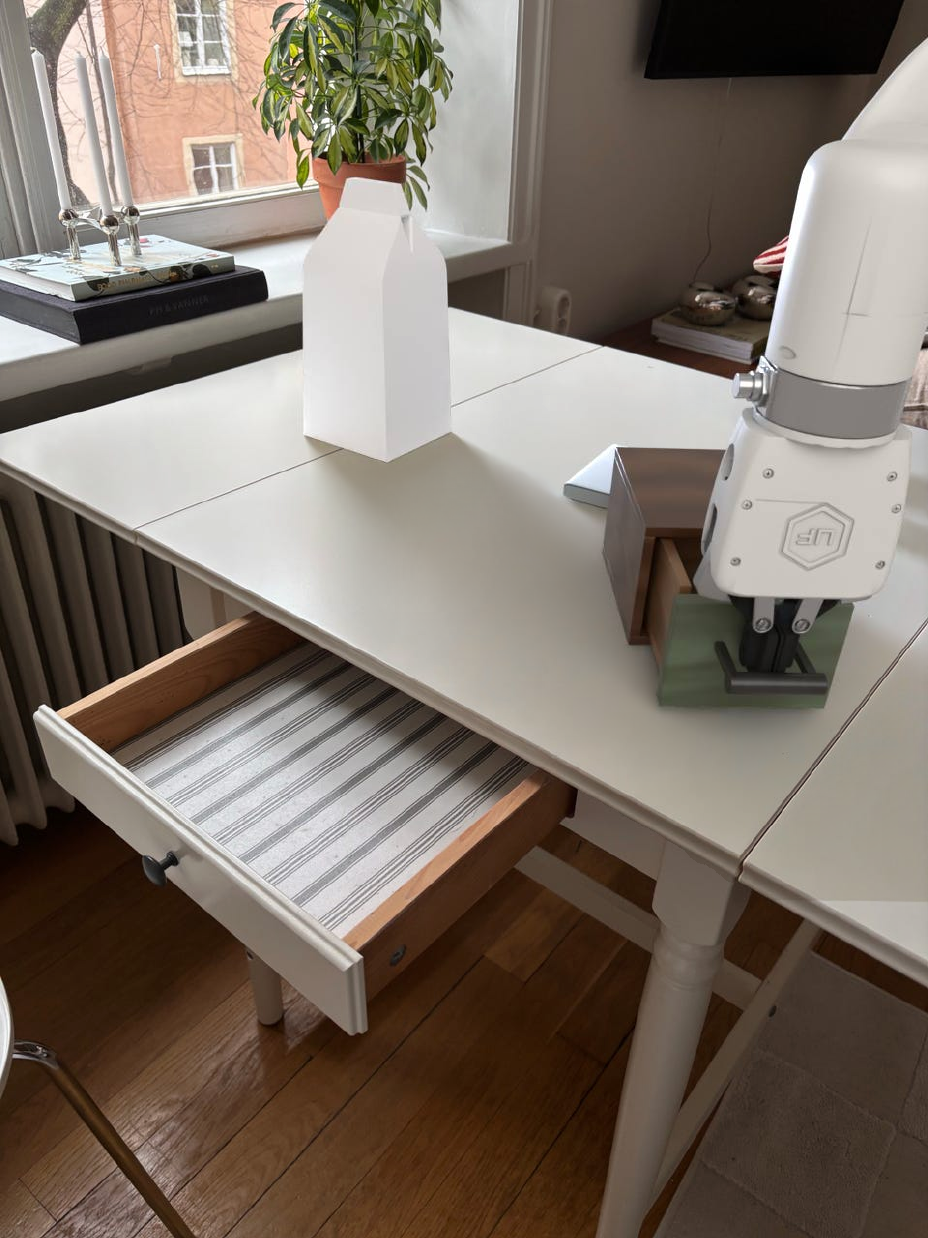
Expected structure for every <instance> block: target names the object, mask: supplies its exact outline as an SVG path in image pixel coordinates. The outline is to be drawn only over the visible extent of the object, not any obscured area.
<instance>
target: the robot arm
mask: <svg viewBox="0 0 928 1238" xmlns="http://www.w3.org/2000/svg"><path fill="white" fill-rule="evenodd" d="M799 182H800V183H799V185H798V190H797V196H796V199H795V205H794V210H793V215H792V220H791V224H790V230H789V235H788V240H787V244H786V250H785V254H784V259H783V263H782V269H781V274H780V278H779V282H778V283H779V284H778V288H777V293H776V299H775V303H774V307H773V314H772V319H771V323H770V328H769V333H768V338H767V343H766V348H765V352H764V355H760V357H759V362H758V365H757V367H756V369H755V370H750V371H749V372H748V373H740V372H739V373H738V372H737V373H735V375H734V377H733V380H732V386H731V389H732V390H731V392H732V393H731V394H732V397H733V399H743V400H744V399H745V400H746V401H747V402H751V403H752V404H753V406H752V407H751V406H750V407H745V408H744V409H743V410H742V412H741V414H740V416H739V419H738V421H737V422H736V425H735V427H734V429H733V432H732V434H731V435H730V439H729V441H728V444H727V447H726V449H725V450H726V451H725V454H724V457H723V460H722V463H721V466H720V469H719V472H718V475H717V478H716V481H715V485H714V488H713V492H712V495H711V499H710V503H709V507H708V511H707V514H706V519H705V523H704V528H703V534H702V541H701V552H702V555H703V556H704V557H703V559H702V561H701V563H700V565H699V567H698V569H697V572H696V574H695V576H694V578H693V583H694V586H695V588H696V590H697V593H698V594H699V595H700V596H702V597H706V598H710V599H714V600H718V601H722V602H725V601H727V602H731V603H732V604H733V605H734V606H735V607H736V609H737V610H738V611H739V612H740V613H741V614H742V615H743V616H744V617H745V618H746V621H745V625H744V629H743V634H742V638H741V643H740V647H739V661H740V663H741V665H742V667H746V668H747V670H748V672H782V673H785V670H786V668H790V667H791V666H792V664H793V660H794V656H795V653H796V649H797V645H798V641H799V638H800V634H803V633H806V632H807V631H809V630H810V628H811V627H812V624H813V622H814V620H815V619H817V618H818V617H820V616H821V615H823V614H824V613H826V612H827V611H828V610H830V609H831V608H833V607H834V606H836V605H837V604H838V603H840V604H846V603H851V602H852V603H857V602H862V601H866V600H869V599H871V598H872V596H874V595H876V594H878V593H879V592H880V591H882V589H883V588H884V587H885V585H886V582H887V580H888V578H889V575H890V572H891V569H892V566H893V562H894V558H895V555H896V551H897V546H898V542H899V537H900V534H901V529H902V524H903V519H904V514H905V508H906V504H907V503H906V502H907V496H908V488H909V483H910V482H909V481H910V471H911V463H912V462H911V460H912V450H913V449H912V448H913V433H912V431H911V430H910V429H909V428H908V427H906V426H905V425H904V424H903V423H901V419H902V415H903V412H904V410H905V409H904V408H905V405H906V402H907V399H908V395H909V393H910V392H909V391H910V388H911V385H912V382H913V378H914V372H915V369H916V366H917V363H918V359H919V356H920V353H921V350H922V345H923V342H924V340H925V335H926V332H927V328H928V37H927V38H925V40H923V41H922V42H921V43H920V44H919V45H918V46H917V47H916V48H914V49H913V50H912V51H911V52H910V53H909V54H908V55H907V56H906V58H905V59H904V60H903V61H902V62H901V63H900V64H899V65H898V66H897V67H896V68H895V70H894V71H893V72H892V73H891V74H890V76H889V77H887V79H886V81H885V82H884V83H883V84H882V85H881V87H880V88H879V89H878V90H877V92H876V93H875V94H874V96H873V97H871V99H870V100H869V101H868V103H867V104H866V105H865V106H864V107H863V109H862V110H861V112H860V113H859V114H858V116H857V117H856V118H855V119H854V121H853V122H852V124H851V125H850V126H849V128H848V130H847V131H846V132H845V133H844V135H843V136H842V139H841V140H840V139H839V140H835V141H832V142H831V141H830V142H829V143H826V144H824V145H821V146H820V147H819V148H818V149H817V150H815V151H814V152H813V154H812V155H811V156H810V157H809V158H808V160H807V162H806V165H805V167H804V169H803V171H802V174H801V178H800V181H799ZM775 598H780V601H779V606H778V607H777V608H774V605H775Z"/></svg>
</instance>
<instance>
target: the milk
mask: <svg viewBox="0 0 928 1238" xmlns="http://www.w3.org/2000/svg"><path fill="white" fill-rule="evenodd" d="M448 299H449V298H448V270H447V263H446V260H445V257H444V255H443V253H442V252H441V250H440V249H439V248H438V246H437V245H436V244H435V242H433V240H432V239H431V238H430V236H429V235H428V234H427V233H426V231H424V230H423V228H422V227H421V226H420V224H419V223H417V221H416V220H415V218H414V217H412V216H411V211H410V208H409V205H408V201H407V197H406V195H405V192H404V189H403V185H402V183H398V182H391V181H385V180H377V179H371V178H365V177H358V176H353V177H347V178H346V179H345V183H344V187H343V190H342V194H341V197H340V201H339V207H337V209H336V210H335V211H334V213H333V214H332V215H331V217H330V218H329V219H328V221H327V223H326V224H325V226H323V228H322V230H321V231H320V233H319V234H318V236H316V239H315V240H314V241H313V243H312V244H311V246H310V247H309V249H308V250H307V253H306V255H305V257H304V260H303V264H302V395H303V396H302V399H303V401H302V404H303V406H302V408H303V412H302V413H303V415H302V416H303V418H302V419H303V420H302V423H303V424H302V425H303V431H302V432H303V436H305V437H309V438H311V439H315V440H317V441H321V442H323V443H326V444H329V445H332V446H336V447H339V448H341V449H345V450H348V451H350V452H354V453H356V454H358V455H359V454H360V455H363V456H365V457H368V458H372V459H375V460H377V461H378V460H379V461H380V462H384V463H389V462H391V461H393V460H395V459H398V458H399V457H401V456H404V455H405V454H408V453H409V452H412V451H414V450H417V449H418V448H420V447H423V446H424V445H427V444H429V443H430V442H431V443H432V442H433V441H435V440H437V439H440V438H441V437H443V436H446V435H447V434H450V433H452V431H453V426H452V425H453V424H452V423H453V422H452V394H451V391H452V390H451V365H450V364H451V363H450V331H449V329H450V327H449V303H448V302H449V300H448Z"/></svg>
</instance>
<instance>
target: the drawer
mask: <svg viewBox="0 0 928 1238" xmlns="http://www.w3.org/2000/svg"><path fill="white" fill-rule="evenodd" d="M701 541H702V538H691V537H655V543H654V549H653V556H652V562H651V568H650V575H649V581H648V588H647V594H646V600H645V607H644V613H643V620H644V623H645V626H646V629H647V632H648V635H649V638H650V642H651V645H650V646H651V648H652V651H653V654H654V658H655V660H656V663H657V666H658V669H659V673H660V674H659V677H658V683H657V689H656V694H655V695H656V696H655V697H656V700H657V703H658V706H659V707H679V708H680V707H681V708H682V707H684V708H687V707H688V708H690V707H691V708H747V709H748V708H750V709H754V708H755V709H807V710H808V709H809V710H810V709H813V710H814V709H815V710H817V709H818V710H821V709H822V710H825V708H826V704H827V701H828V697H829V695H830V690H831V687H832V684H833V681H834V679H835V678H834V677H835V674H836V670H837V667H838V663H839V661H840V657H841V654H842V650H843V646H844V643H845V640H846V637H847V633H848V630H849V626H850V623H851V620H852V617H853V613H854V610H855V605H854V602H851V603H846V604H840V603H838V604H837V605H836V606H834V607H833V608H831V609H830V610H828V611H827V612H826V613H824V614H823V615H821V616H820V617H818V618H817V619H815V620H814V622H813V624H812V627H811V628H810V630H809V631H807V632H806V633H803V634H800V638H799V641H798V645H797V649H796V653H795V656H794V660H793V664H792V666H791V667H790V668H786V670H785V673H782V672H748V670H747V668H746V667H742V665H741V663H740V661H739V647H740V643H741V638H742V634H743V629H744V625H745V621H746V618H745V617H744V616H743V615H742V614H741V613H740V612H739V611H738V610H737V609H736V607H735V606H734V605H733V604H732V603H731V602H727V601H725V602H722V601H718V600H714V599H710V598H706V597H702V596H700V595H699V594H698V593H697V590H696V588H695V586H694V583H693V578H694V576H695V574H696V572H697V569H698V567H699V565H700V563H701V561H702V559H703V557H704V556H703V555H702V552H701ZM779 601H780V598H775V605H774V608H777V607H778V606H779Z"/></svg>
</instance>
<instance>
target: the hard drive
mask: <svg viewBox="0 0 928 1238" xmlns="http://www.w3.org/2000/svg"><path fill="white" fill-rule="evenodd" d="M615 447H627V446H626V445H621V444H617V443H616V444H615V443H613V444H611V445H610V446H609V447H607V448H606V449H605V450H604V451H603V452H601V453H600V454H598V456H596V457H595V458H594V459H593V460H592V461H590V462H589V463H588V464H587V465H586V466H584V467H583V468H582V469H580V470H579V471H578V472H576V474H575V475H573V476H572V477H570V479H568V480H567V481H566V482H565V483H564V484H563V491H562V494H563V496H564V497H566V498H569V499H572V500H576V501H579V502H583V503H586V504H589V505H593V506H598V507H601V508H604V509H608V503H609V495H610V486H611V478H612V470H613V462H614V454H615Z"/></svg>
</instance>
